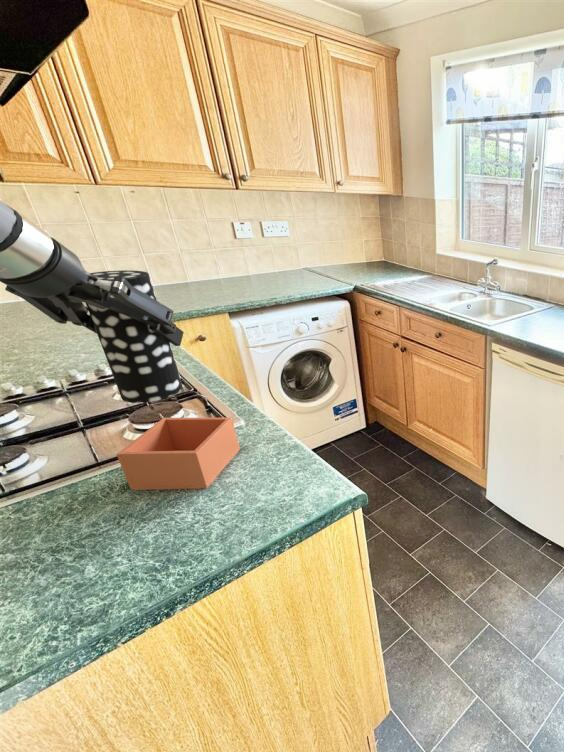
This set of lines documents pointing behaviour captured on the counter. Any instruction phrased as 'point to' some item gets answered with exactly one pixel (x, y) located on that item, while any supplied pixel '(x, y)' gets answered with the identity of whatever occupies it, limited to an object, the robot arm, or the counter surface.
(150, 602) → the counter surface
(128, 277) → the white-spotted black cylinder
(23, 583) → the counter surface
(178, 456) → the box
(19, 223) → the robot arm
